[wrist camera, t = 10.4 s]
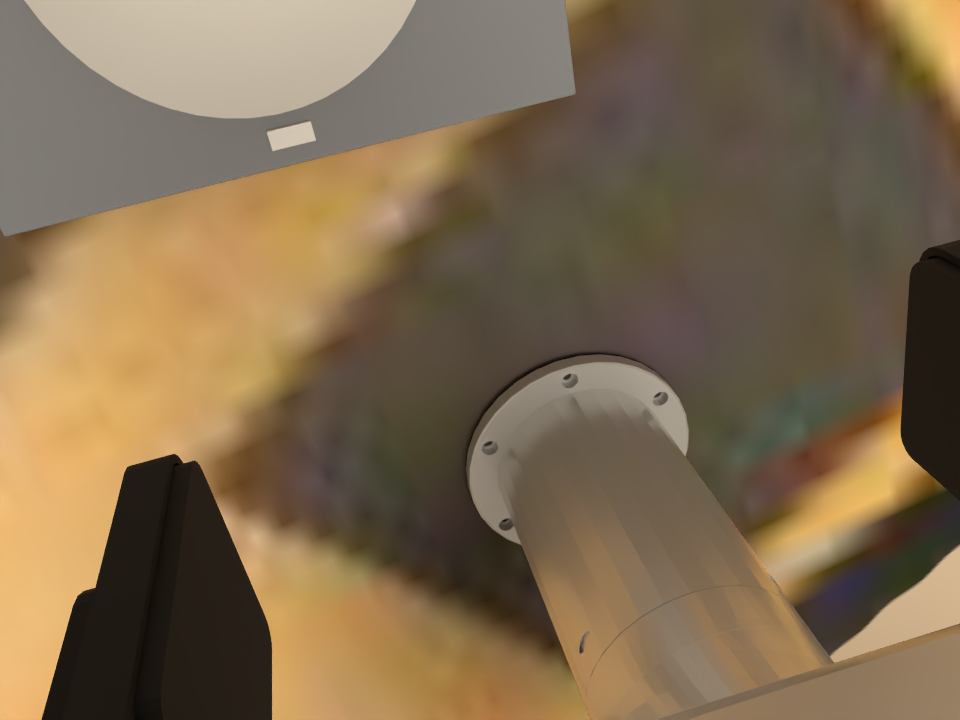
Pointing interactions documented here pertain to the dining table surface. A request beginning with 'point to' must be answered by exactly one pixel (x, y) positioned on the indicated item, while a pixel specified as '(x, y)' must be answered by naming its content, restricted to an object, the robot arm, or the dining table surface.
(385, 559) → the dining table surface
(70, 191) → the dial board
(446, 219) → the dining table surface
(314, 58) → the dial
